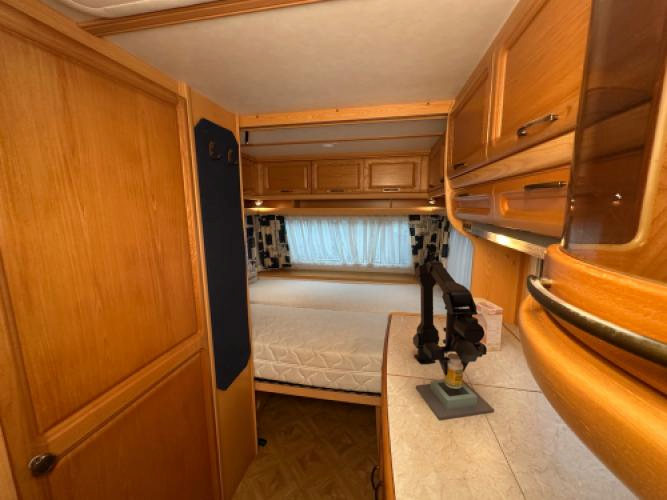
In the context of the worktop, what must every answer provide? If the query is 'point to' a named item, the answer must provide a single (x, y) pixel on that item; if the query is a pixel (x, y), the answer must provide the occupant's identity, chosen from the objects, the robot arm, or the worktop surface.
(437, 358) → the robot arm
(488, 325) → the coffeecake box
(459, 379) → the supplement bottle
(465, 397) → the socket
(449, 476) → the worktop surface
